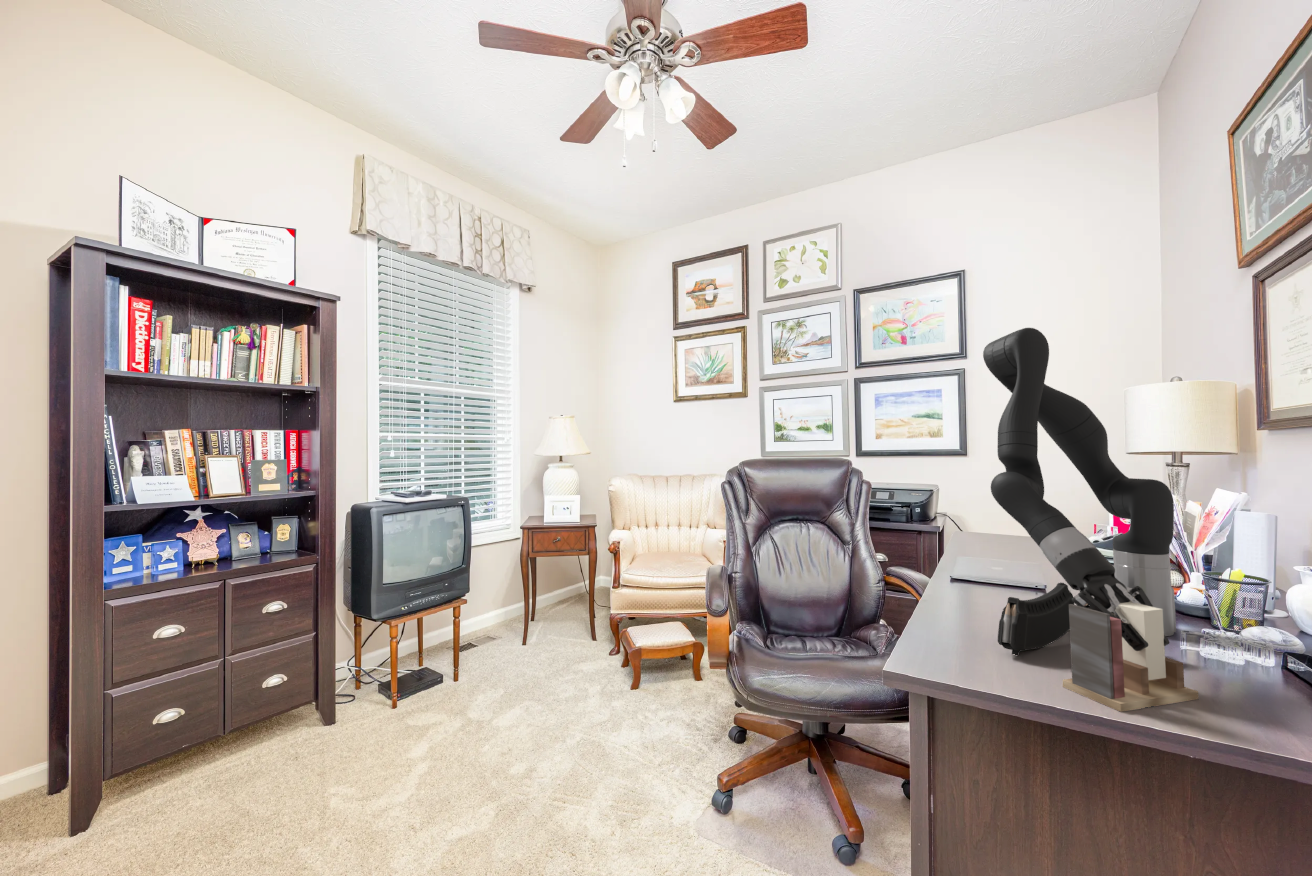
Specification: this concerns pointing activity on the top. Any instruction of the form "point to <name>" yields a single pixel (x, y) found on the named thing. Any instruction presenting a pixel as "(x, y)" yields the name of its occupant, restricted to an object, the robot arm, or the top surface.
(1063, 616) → the magazine
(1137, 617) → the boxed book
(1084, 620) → the book rack
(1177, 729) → the top surface
